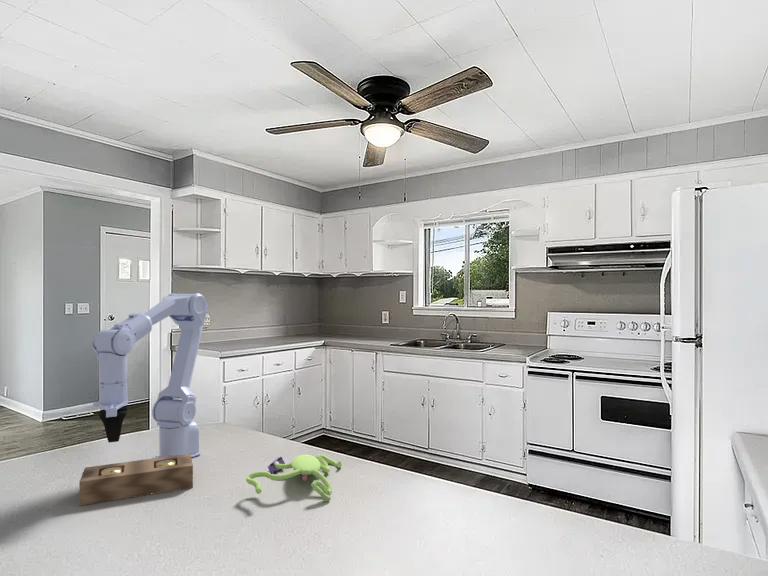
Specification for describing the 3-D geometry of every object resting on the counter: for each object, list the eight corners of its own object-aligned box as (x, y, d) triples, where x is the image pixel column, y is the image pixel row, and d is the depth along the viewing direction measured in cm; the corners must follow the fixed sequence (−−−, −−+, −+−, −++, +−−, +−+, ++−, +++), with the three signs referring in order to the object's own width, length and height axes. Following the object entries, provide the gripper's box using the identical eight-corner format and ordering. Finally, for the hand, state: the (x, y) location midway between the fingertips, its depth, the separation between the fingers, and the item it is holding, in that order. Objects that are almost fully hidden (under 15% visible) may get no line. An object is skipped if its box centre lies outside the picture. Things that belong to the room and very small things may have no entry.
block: (190, 473, 119) (190, 453, 119) (192, 487, 111) (192, 465, 111) (85, 489, 110) (85, 467, 110) (79, 505, 102) (79, 481, 102)
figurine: (238, 509, 101) (238, 482, 101) (273, 463, 128) (273, 441, 128) (327, 511, 100) (327, 483, 100) (343, 464, 127) (343, 442, 127)
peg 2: (175, 480, 115) (175, 458, 115) (175, 486, 112) (175, 464, 112) (156, 482, 114) (156, 461, 114) (156, 489, 110) (156, 467, 110)
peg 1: (122, 488, 111) (122, 466, 111) (121, 494, 107) (121, 472, 107) (101, 491, 109) (101, 468, 109) (100, 498, 105) (100, 475, 105)
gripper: (96, 377, 117) (96, 434, 117) (89, 389, 104) (90, 453, 104) (129, 375, 120) (129, 430, 120) (127, 386, 107) (127, 448, 107)
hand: (113, 441), depth 112 cm, fingers closed
